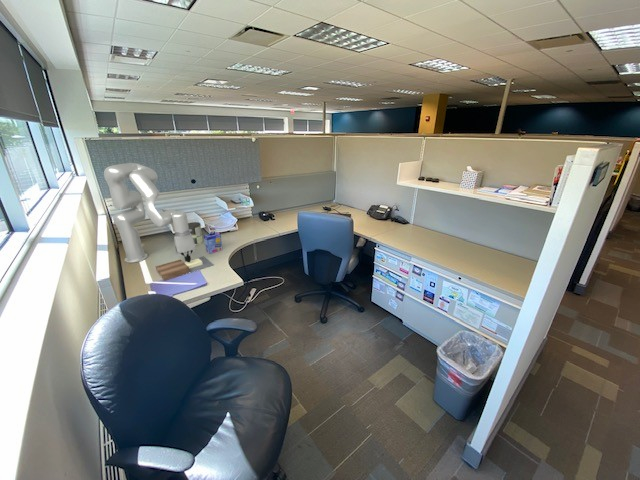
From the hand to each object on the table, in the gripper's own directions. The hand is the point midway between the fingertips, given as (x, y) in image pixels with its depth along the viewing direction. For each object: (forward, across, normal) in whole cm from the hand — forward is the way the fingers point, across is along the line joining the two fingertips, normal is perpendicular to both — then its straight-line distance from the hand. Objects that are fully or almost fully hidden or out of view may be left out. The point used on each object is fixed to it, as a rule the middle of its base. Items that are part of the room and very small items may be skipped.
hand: (188, 261), depth 166 cm
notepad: (+3, -2, 0) cm, 4 cm away
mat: (+4, -5, 0) cm, 6 cm away
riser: (+4, +9, 0) cm, 10 cm away
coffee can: (+4, -17, -35) cm, 39 cm away
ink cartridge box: (+4, -21, -12) cm, 24 cm away
